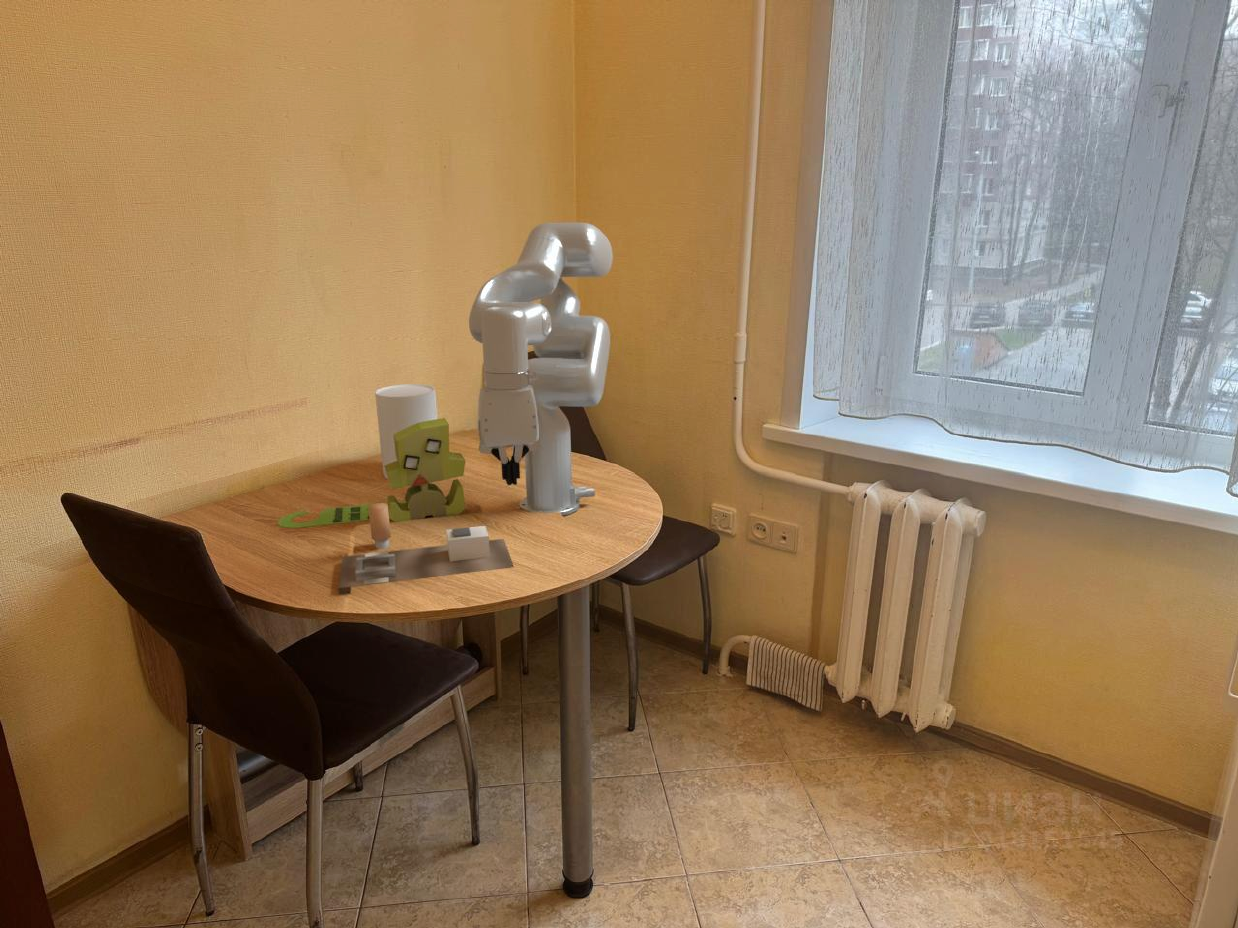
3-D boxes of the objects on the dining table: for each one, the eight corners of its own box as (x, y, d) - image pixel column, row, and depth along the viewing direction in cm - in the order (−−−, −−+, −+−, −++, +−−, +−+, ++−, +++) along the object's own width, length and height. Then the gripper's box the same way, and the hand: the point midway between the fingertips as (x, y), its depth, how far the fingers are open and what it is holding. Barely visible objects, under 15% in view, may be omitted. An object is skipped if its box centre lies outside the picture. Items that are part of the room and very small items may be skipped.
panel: (503, 544, 156) (503, 531, 155) (514, 573, 144) (513, 558, 143) (342, 562, 148) (340, 549, 148) (339, 594, 136) (337, 579, 136)
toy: (389, 529, 164) (380, 431, 158) (387, 519, 169) (377, 424, 163) (469, 518, 169) (463, 423, 163) (464, 508, 174) (458, 416, 168)
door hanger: (403, 502, 179) (280, 515, 172) (403, 500, 179) (280, 513, 172) (405, 517, 170) (276, 532, 164) (405, 515, 170) (275, 529, 163)
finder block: (486, 545, 152) (485, 523, 151) (489, 556, 148) (488, 533, 146) (447, 550, 150) (446, 527, 149) (449, 561, 146) (448, 538, 144)
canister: (379, 467, 201) (371, 387, 195) (435, 460, 206) (429, 382, 200) (387, 484, 189) (379, 399, 183) (446, 476, 194) (440, 393, 188)
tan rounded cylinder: (392, 547, 155) (387, 502, 152) (392, 554, 152) (387, 508, 149) (373, 549, 154) (368, 504, 151) (373, 556, 151) (368, 510, 148)
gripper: (545, 374, 147) (548, 473, 152) (460, 379, 143) (466, 480, 148) (553, 382, 140) (556, 485, 145) (464, 387, 136) (470, 493, 141)
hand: (511, 482), depth 147 cm, fingers closed
